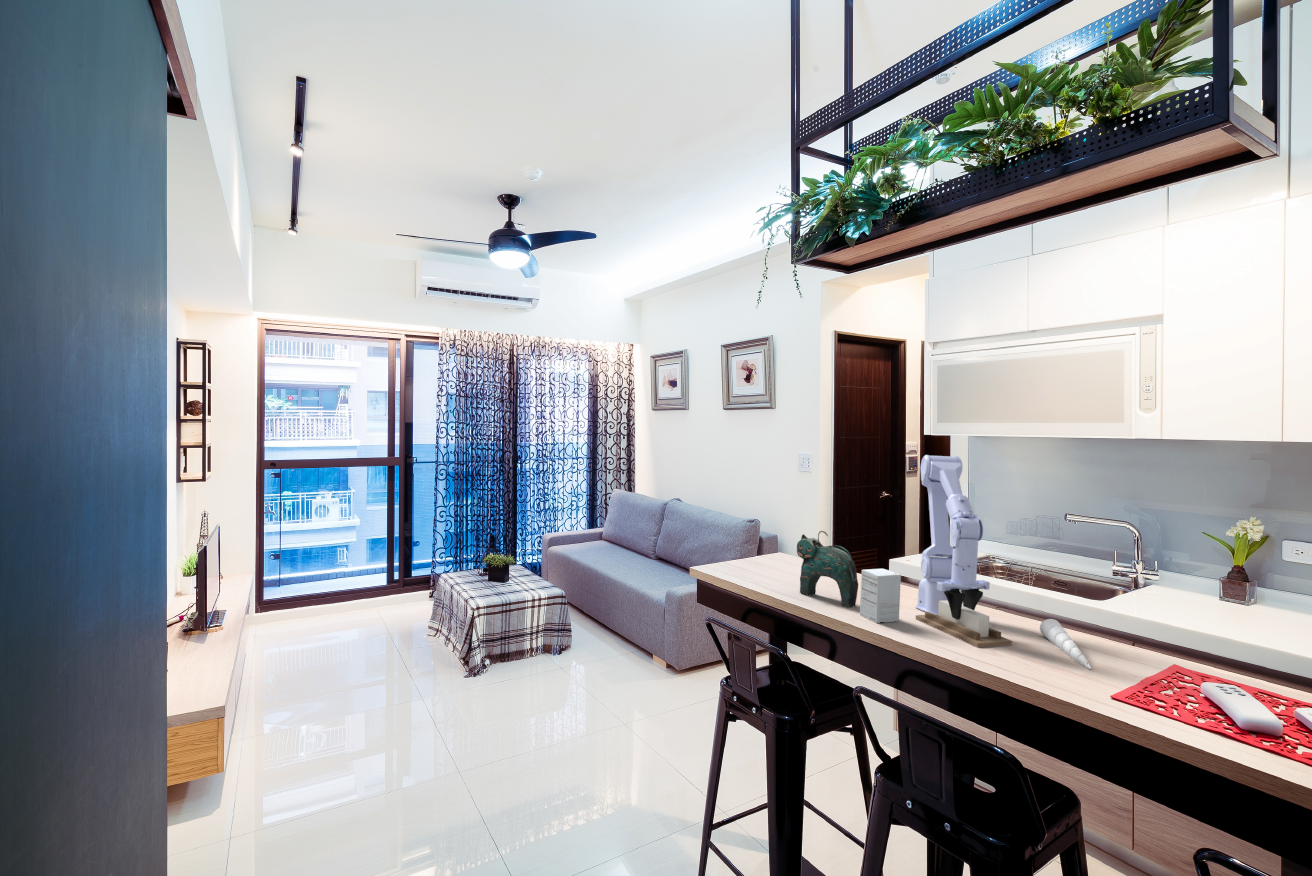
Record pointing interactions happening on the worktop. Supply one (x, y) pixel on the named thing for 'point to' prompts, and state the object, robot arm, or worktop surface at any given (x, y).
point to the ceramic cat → (827, 568)
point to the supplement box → (880, 595)
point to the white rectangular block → (966, 618)
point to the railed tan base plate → (964, 631)
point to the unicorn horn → (1062, 640)
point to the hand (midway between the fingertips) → (961, 617)
